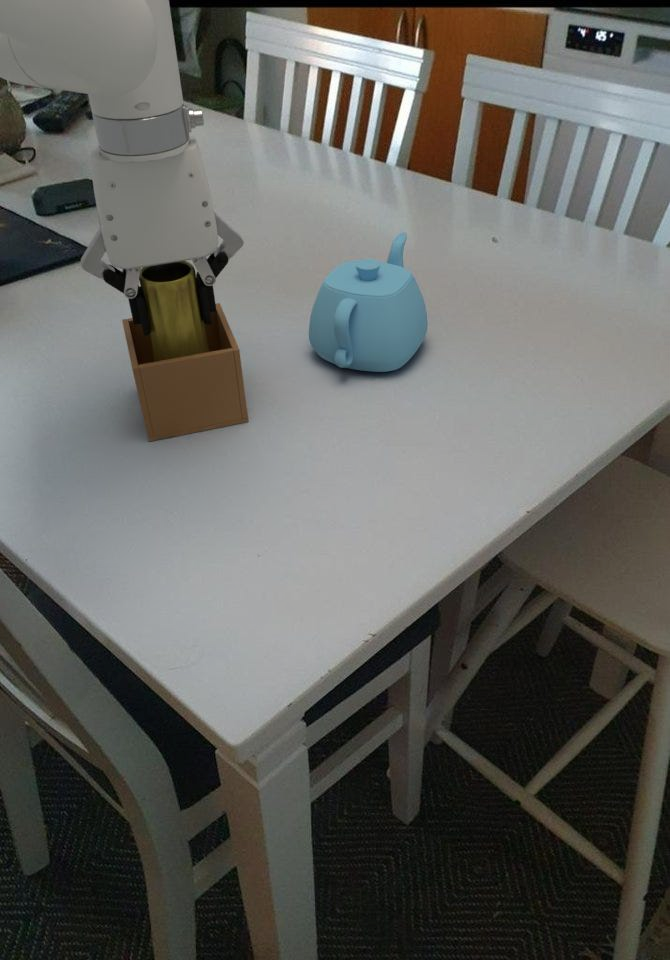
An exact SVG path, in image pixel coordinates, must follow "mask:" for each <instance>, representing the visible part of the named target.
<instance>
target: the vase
mask: <svg viewBox="0 0 670 960" xmlns="http://www.w3.org/2000/svg"><path fill="white" fill-rule="evenodd" d="M196 275H197V272H196V268H195V266H194V264H192V263H190V262H189V261H188V260H187V261H180V262H174V263H168V264H161V265H155V266H148V267H141V270H140V277H139V286H141V290H142V292H143V296H144V300H145V305H146V310H147V315H148V320H149V325H150V330H151V333H150V334H151V340H152V346H153V352H154V358H155V362H157V361H162V360H168V359H173V358H179V357H184V356H190V355H196V354H201V353H207V352H209V349H208V343H207V337H206V332H205V327H204V322H203V318H202V312H201V306H200V299H199V293H198V287H197V280H196Z"/></svg>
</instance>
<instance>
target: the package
mask: <svg viewBox="0 0 670 960" xmlns="http://www.w3.org/2000/svg"><path fill="white" fill-rule="evenodd" d="M215 304H216V311H214V312H210V313H211V320H212V324H210V325H206V324H204V327H205V332H206V337H207V343H208V349H209V352H207V353H201V354H196V355H190V356H184V357H179V358H173V359H168V360H162V361H157V362H155V358H154V352H153V346H152V340H151V334H150V333H149V335H146V336H144V334H143V330H142V326H141V324H137V325H134V323H133V318H132V317H130V318H129V317H128V318H124V319H122V320H121V322H122V327H123V331H124V336H125V341H126V346H127V350H128V355H129V360H130V364H131V365H130V366H131V369H132V374H133V379H134V382H135V387H136V391H137V397H138V401H139V404H140V405H139V406H140V409H141V413H142V418H143V422H144V427H145V431H146V435H147V440H148V442H150V443H151V442H155V441H160V440H163V439H164V440H165V439H170V438H174V437H179V436H185V435H190V434H194V433H199V432H204V431H209V430H210V431H211V430H214V429H219V428H225V427H229V426H234V425H238V424H244V423H248V422H249V415H248V407H247V400H246V392H245V383H244V374H243V367H242V360H241V351H240V347H239V346H238V343H237V339H236V338H235V336H234V334H233V331H232V329H231V327H230V324H229V322H228V320H227V317H226V314H225V312H224V310H223V307H222V305H221V303H219V302H218V303H215Z"/></svg>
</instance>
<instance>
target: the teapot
mask: <svg viewBox="0 0 670 960" xmlns="http://www.w3.org/2000/svg"><path fill="white" fill-rule="evenodd" d="M407 239H408V234H407V233H406V232H401V233H398V234H397V235H396V237H395V238H394V239H393V241H392V244H391V247H390V250H389V253H388V256H387V260H386V262H383V261H379V260H377V259H374V258H362V259H353V260H348V261H344V262H342V263H341V264H339V265H337V266H336V267H335V268H334V269H333V270H332V271H331V272H330V273H329V274H328V275H327V276H326V277H325V278H324V279H323V281H322V284H321V286H320V288H319V290H318V292H317V295H316V298H315V299H314V303H313V306H312V309H311V312H310V317H309V318H310V319H309V325H308V340H309V344H310V345H311V347H312V348H313V350H314V351H315V353H316V354H317V355H318V356H319V357H320V358H322V359H323V360H325V361H327V362H329V363H331V364H334V365H336V366H337V367H338V368H340V369H341V368H346V369H350V370H354V371H355V370H356V371H364V372H375V373H376V372H377V373H380V372H381V373H382V372H383V373H386V372H392V371H396V370H399V369H400V368H402V367H403V366H404V365H406V364H407V363H408V362H409V361H410V360H411V359H412V357H413V356H414V355H415V354H416V353H417V351H418V350H419V348H420V347H421V345H422V343H423V342H424V340H425V338H426V335H427V333H428V324H429V323H428V313H427V307H426V303H425V299H424V296H423V293H422V291H421V289H420V287H419V284H418V282H417V280H416V278H415V276H414V274H413V272H411V271H410V270H409V269H407V268H406V267H405V266H404V249H405V245H406V241H407Z"/></svg>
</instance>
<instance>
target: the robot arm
mask: <svg viewBox="0 0 670 960" xmlns="http://www.w3.org/2000/svg"><path fill="white" fill-rule="evenodd" d="M0 78H1V79H3V80H6V81H8V82H11V83H15V84H19V85H24V86H28V87H35V88H36V87H37V88H42V89H47V90H58V91H59V90H60V91H65V92H66V91H67V92H71V93H72V92H73V93H79V94H86V95H87V96H88V100H89V105H90V111H91V116H92V120H93V124H94V129H95V134H96V138H97V139H96V140H97V143H98V145H96V146H95V147H93V148H91V153H90V154H91V155H90V164H91V165H90V166H91V178H92V187H93V193H94V199H95V207H96V211H97V217H98V218H97V219H98V223H99V227H98V229H97V231H96V233H95V235H94V236H93V238H92V239H91V241H90V242H89V244H88V246H87V248H86V249H85V251H84V253H83V254H82V256H81V258H80V264H81V268H82V270H83V271H85V272H87V273H88V274H90V275H92V276H94V277H96V278H98V279H101V280H102V281H104V282H105V284H107V285H109V286H110V287H112V288H114V289H116V290H117V291H119V292H120V293H122V294H123V295H124V297H125V298H126V299H128V305H129V308H130V313H131V318H133V323H134V325H137V324H141V326H142V330H143V334H144V336H146V335H149V333H151V330H150V325H149V320H148V315H147V310H146V305H145V300H144V296H143V292H142V290H141V285H140V281H139V277H140V270H141V269H142V268H143V267H148V266H155V265H161V264H168V263H174V262H180V261H187V262H188V261H192V263H193V266H194V268H195V270H196V271H197V272H196V280H197V287H198V293H199V299H200V306H201V312H202V318H203V322H204V324H206V325H210V324H212V320H211V313H210V312H214V311H216V304H217V303H216V296H215V291H214V290H215V289H214V285H215V284H216V281H217V278H218V276H219V275H220V274H221V273H222V271H223V270H224V269H225V267H226V266H227V265H228V263H229V260H230V259H231V258H233V257H234V256H235V255H236V254H237V253H238V252H239V251H240V250H241V249H242V247H243V246H244V243H245V242H244V239H243V238H242V236H241V234H240V233H239V232H238V231H237V230H236V229H234V228H233V227H232V226H231V225H230V224H229V223H228V222H227V221H225V220H224V219H223V218H222V217H221V216H220V215H219V214H217V212H216V211H215V210H214V204H213V199H212V194H211V190H210V189H211V188H210V184H209V180H208V177H207V174H206V170H205V165H204V160H203V157H202V154H201V150H200V147H199V143H198V142H197V139H196V138H195V136H192V135H190V133H192V129H196V127H203V126H204V125H205V121H204V115H203V110H202V108H195V109H193V108H192V107H188V106H187V104H184V96H183V90H182V84H181V76H180V69H179V62H178V55H177V49H176V41H175V35H174V28H173V21H172V13H171V6H170V0H0ZM219 237H220V239H222V242H221V243H220V244H219ZM105 254H107V257H108V261H109V263H110V264H108V263H106V262H105V261H103V260H102V258H103V257H104V255H105ZM120 269H121V270H120Z"/></svg>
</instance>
